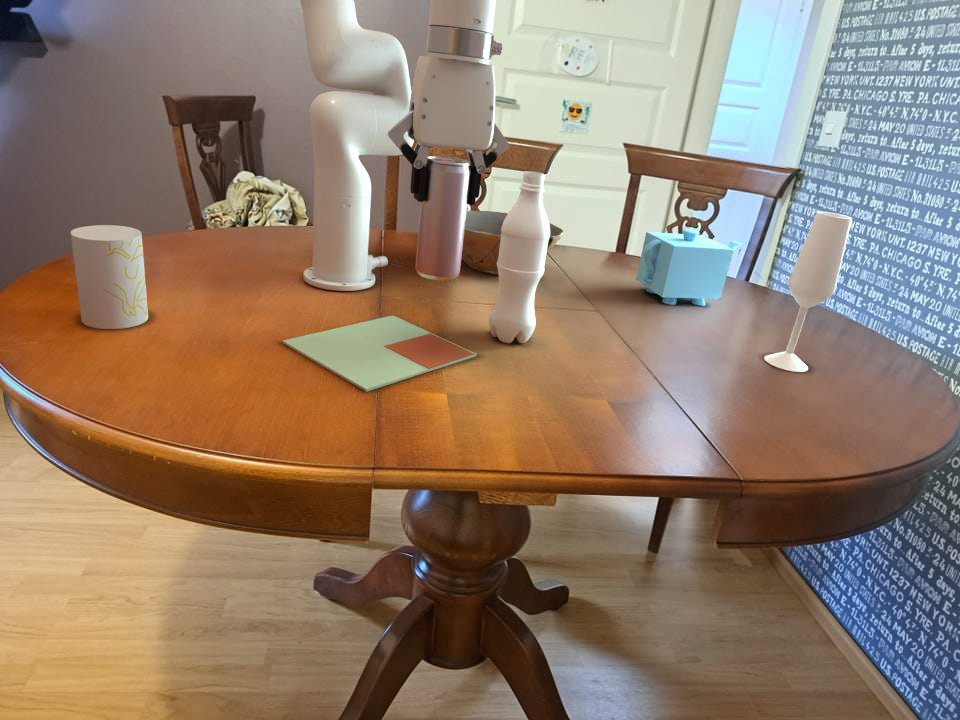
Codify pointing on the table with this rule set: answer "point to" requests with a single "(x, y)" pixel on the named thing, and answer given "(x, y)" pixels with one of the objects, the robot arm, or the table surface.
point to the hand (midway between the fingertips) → (444, 200)
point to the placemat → (378, 351)
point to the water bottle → (521, 262)
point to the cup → (110, 276)
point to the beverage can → (443, 218)
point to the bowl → (489, 239)
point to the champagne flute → (814, 277)
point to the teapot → (684, 266)
